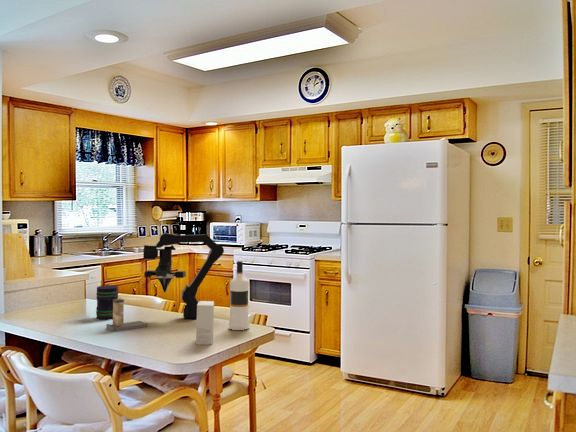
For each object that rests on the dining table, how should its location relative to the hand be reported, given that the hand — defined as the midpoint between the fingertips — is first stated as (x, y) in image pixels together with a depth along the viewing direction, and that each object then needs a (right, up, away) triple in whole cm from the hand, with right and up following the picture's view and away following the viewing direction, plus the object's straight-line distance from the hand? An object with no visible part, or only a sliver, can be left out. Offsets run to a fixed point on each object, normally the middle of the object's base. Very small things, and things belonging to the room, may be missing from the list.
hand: (165, 292), depth 235 cm
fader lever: (-15, -11, -21) cm, 28 cm away
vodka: (+37, -14, -17) cm, 43 cm away
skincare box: (+26, -14, -41) cm, 50 cm away
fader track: (-12, -13, -19) cm, 26 cm away
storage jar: (-28, -13, +1) cm, 31 cm away
